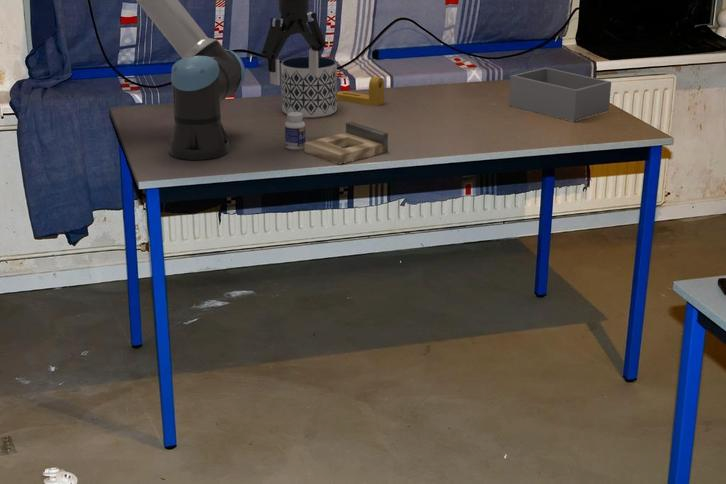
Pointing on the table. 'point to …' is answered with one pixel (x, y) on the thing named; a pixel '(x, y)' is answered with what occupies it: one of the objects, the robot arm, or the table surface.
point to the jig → (350, 144)
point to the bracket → (372, 99)
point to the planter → (309, 87)
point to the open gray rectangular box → (559, 93)
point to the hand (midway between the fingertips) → (294, 79)
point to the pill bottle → (295, 131)
